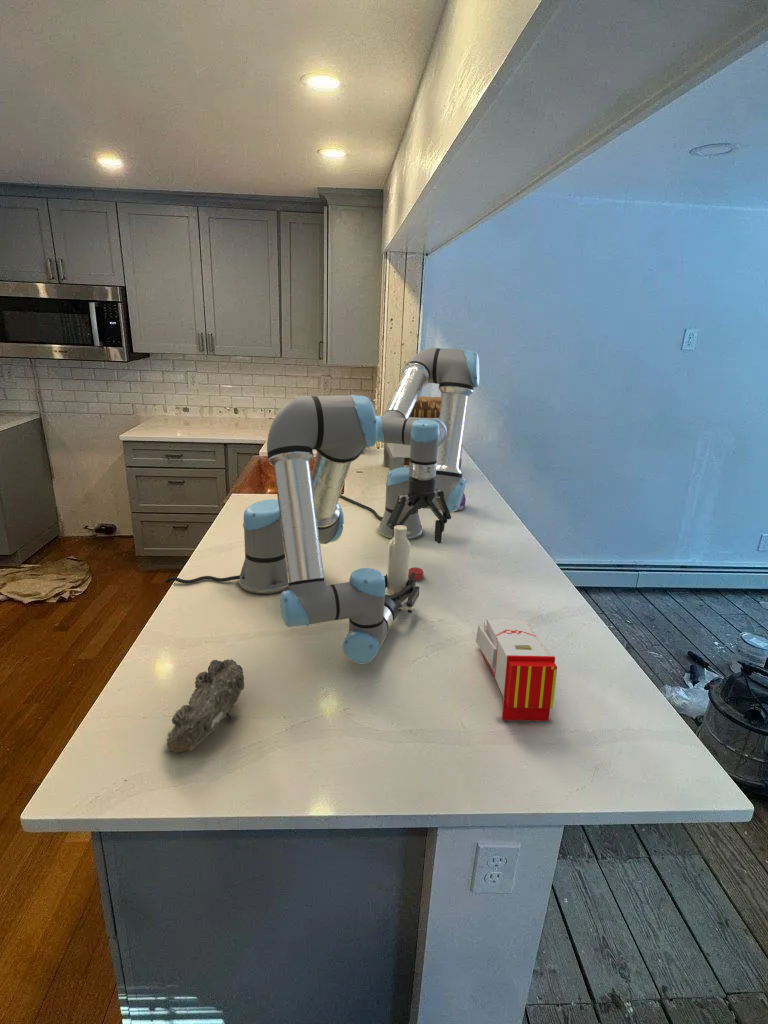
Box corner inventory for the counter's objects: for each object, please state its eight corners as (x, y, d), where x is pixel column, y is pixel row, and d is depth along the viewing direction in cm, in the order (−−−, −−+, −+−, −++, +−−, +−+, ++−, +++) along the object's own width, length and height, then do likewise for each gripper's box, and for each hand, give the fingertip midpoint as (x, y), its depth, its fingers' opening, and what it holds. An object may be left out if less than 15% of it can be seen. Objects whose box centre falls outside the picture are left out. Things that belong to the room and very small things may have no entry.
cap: (406, 579, 167) (407, 572, 166) (409, 573, 171) (410, 566, 170) (421, 581, 166) (421, 574, 165) (424, 575, 170) (424, 568, 169)
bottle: (406, 600, 155) (411, 523, 147) (406, 610, 149) (411, 531, 142) (385, 599, 155) (389, 522, 147) (385, 609, 149) (389, 530, 142)
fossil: (192, 660, 117) (244, 628, 112) (224, 691, 120) (276, 661, 115) (142, 746, 98) (202, 712, 93) (182, 779, 101) (242, 748, 96)
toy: (523, 604, 135) (566, 662, 106) (518, 656, 138) (559, 727, 109) (472, 603, 135) (501, 661, 105) (468, 655, 138) (496, 726, 108)
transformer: (382, 463, 289) (386, 382, 275) (445, 464, 293) (451, 384, 279) (390, 482, 257) (394, 392, 243) (460, 483, 261) (468, 394, 247)
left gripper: (340, 623, 137) (369, 582, 158) (415, 637, 133) (434, 593, 154) (341, 595, 134) (370, 557, 156) (417, 609, 130) (436, 568, 151)
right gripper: (389, 485, 149) (386, 558, 157) (466, 475, 160) (460, 543, 168) (376, 477, 155) (374, 547, 163) (452, 467, 166) (446, 534, 174)
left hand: (402, 575), depth 155 cm, fingers closed on bottle, 6 cm apart
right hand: (417, 545), depth 165 cm, fingers open, 13 cm apart
